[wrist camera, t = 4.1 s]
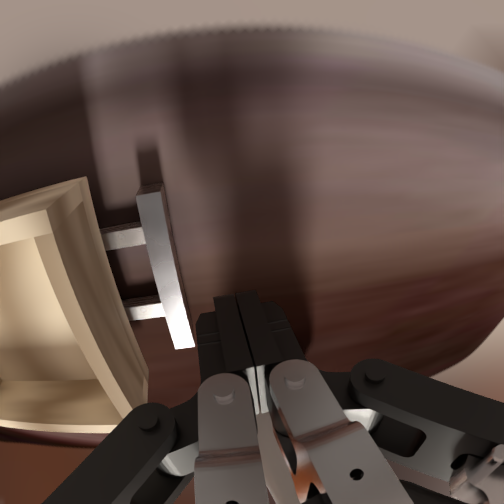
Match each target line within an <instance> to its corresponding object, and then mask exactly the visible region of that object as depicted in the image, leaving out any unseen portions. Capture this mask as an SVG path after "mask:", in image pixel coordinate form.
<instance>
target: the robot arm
mask: <svg viewBox="0 0 504 504" xmlns="http://www.w3.org/2000/svg"><path fill="white" fill-rule="evenodd" d="M213 299H214V305H215V311H214V312H208V313H202V314H200V316H199V318H198V320H197V322H196V334H197V344H198V355H199V365H200V374H201V385H200V388H199V390H198V392H197V393H196V394H195V395H194V396H193V397H192V398H191V399H190V400H188V401H187V402H185V403H183V404H180V405H178V406H175V407H173V408H171V409H169V408H168V407H166V406H164V405H162V404H159V403H145V404H142V405H139V406H137V407H135V408H134V409H133V410H132V411H130V412H129V413H128V415H127V416H126V417H125V418H124V419H123V420H122V421H121V422H120V423H119V424H118V425H117V426H116V427H115V428H114V429H113V430H112V432H111V433H110V434H109V435H108V436H107V437H106V438H105V439H104V440H103V441H102V442H101V443H100V444H99V445H98V446H97V447H96V448H95V449H94V450H93V451H92V453H91V454H90V455H89V456H88V457H87V458H86V459H85V460H84V461H83V462H82V463H81V464H80V465H79V466H78V467H77V468H76V469H75V470H74V471H73V472H72V473H71V474H70V475H69V476H68V477H67V478H66V480H64V481H63V483H62V484H61V485H60V486H59V487H58V488H57V489H56V490H55V491H54V492H53V493H52V494H51V495H50V496H49V497H48V498H47V499H46V500H45V501H44V502H43V503H42V504H173V503H174V502H175V500H176V499H177V498H178V496H179V495H180V494H181V492H182V491H183V490H184V489H185V487H186V486H187V485H188V483H189V482H190V481H191V479H192V478H193V477H194V480H195V503H196V504H269V499H268V493H267V488H266V482H265V476H264V471H263V465H262V459H261V454H260V449H259V443H258V437H257V434H258V427H257V420H256V415H257V414H259V406H260V410H261V413H266V412H269V414H270V417H271V420H272V428H273V433H274V436H275V438H276V441H277V443H278V446H279V448H280V450H281V453H282V455H283V458H284V460H285V462H286V465H287V467H288V469H289V472H290V474H291V476H292V479H293V482H294V486H295V490H296V494H297V496H298V499H299V501H300V504H504V403H502V402H499V401H496V400H493V399H490V398H487V397H484V396H481V395H478V394H474V393H472V392H469V391H466V390H463V389H460V388H457V387H454V386H451V385H448V384H446V383H443V382H440V381H437V380H434V379H432V378H429V377H426V376H423V375H421V374H418V373H415V372H413V371H410V370H407V369H405V368H402V367H399V366H397V365H394V364H391V363H389V362H386V361H383V360H380V359H366V360H363V361H361V362H359V363H357V364H356V365H355V366H354V367H353V369H352V370H351V372H325V371H321V370H319V369H317V368H316V367H315V366H314V365H313V364H311V363H309V362H308V361H307V360H306V358H305V356H304V354H303V352H302V349H301V347H300V345H299V343H298V341H297V339H296V337H295V334H294V332H293V330H292V329H291V326H290V324H289V322H288V320H287V317H286V315H285V313H284V311H283V309H282V308H281V307H280V306H278V305H277V304H276V303H274V302H273V301H270V302H265V303H260V300H259V298H258V295H257V292H256V290H252V291H246V292H240V293H235V297H234V294H229V295H223V296H217V297H213ZM235 300H236V301H235ZM258 403H259V406H258ZM385 458H386V459H388V460H390V461H393V462H396V463H398V464H400V465H403V466H405V467H408V468H411V469H413V470H416V471H419V472H421V473H424V474H427V475H430V476H432V477H435V478H438V479H441V480H444V481H447V482H449V486H450V495H451V496H452V497H453V498H451V497H448V496H445V495H442V494H440V493H437V492H434V491H432V490H429V489H427V488H424V487H422V486H419V485H417V484H414V483H412V482H408V481H404V480H399V479H398V478H397V477H396V475H395V473H394V472H393V470H392V469H391V467H390V466H389V464H388V462H387V461H386V459H385ZM454 498H457V499H459V500H461V501H459V500H456V499H454ZM462 501H463V502H462Z"/></svg>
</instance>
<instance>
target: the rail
mask: <svg viewBox="0 0 504 504" xmlns="http://www.w3.org/2000/svg"><path fill="white" fill-rule="evenodd" d="M136 201H137V206H138V210H139V215H140V220H141V221H139V222H133V223H128V224H122V225H117V226H112V227H106V228H101V229H99V230H100V234H101V238H102V241H103V245H104V248H105V251H107V250H113V249H119V248H124V247H130V246H136V245H142V244H146V246H147V250H148V254H149V258H150V262H151V266H152V270H153V274H154V278H155V282H156V285H157V289H158V293H159V295H153V296H146V297H140V298H133V299H126V300H121V301H122V304H123V307H124V310H125V312H126V315H127V318H128V320H129V321H133V320H141V319H148V318H155V317H162V316H165V317H166V320H167V324H168V327H169V330H170V333H171V337H172V340H173V343H174V346H175V349H181V348H188V347H194V346H195V345H194V332H193V324H192V320H191V316H190V312H189V308H188V304H187V299H186V295H185V291H184V286H183V282H182V277H181V273H180V268H179V263H178V259H177V254H176V249H175V244H174V239H173V234H172V229H171V223H170V218H169V212H168V207H167V201H166V196H165V190H164V184H163V182H160V183H155V184H149V185H144V186H141V187H140V189H139V191H138V193H137V194H136Z"/></svg>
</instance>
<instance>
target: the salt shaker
mask: <svg viewBox="0 0 504 504" xmlns="http://www.w3.org/2000/svg"><path fill="white" fill-rule="evenodd" d="M258 406H259V403H258ZM256 420H257V427H258V434H257V437H258V443H259V449H260V454H261V459H262V465H263V471H264V476H265V482H266V485H267V487H268V489H269V491H270V493H271V495H272V497H273V498H274V500H275V502H276V504H300V501H299V499H298V496H297V494H296V490H295V486H294V482H293V479H292V476H291V474H290V472H289V469H288V467H287V465H286V462H285V460H284V458H283V455H282V453H281V450H280V448H279V446H278V443H277V441H276V438H275V436H274V433H273V428H272V420H271V417H270V414H269V412H266V413H261V410H260V406H259V414H257V415H256Z"/></svg>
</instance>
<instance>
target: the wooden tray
mask: <svg viewBox="0 0 504 504" xmlns="http://www.w3.org/2000/svg"><path fill="white" fill-rule="evenodd" d="M148 374H149V370H148V367H147V365H146V363H145V360H144V358H143V356H142V353H141V351H140V348H139V346H138V343H137V341H136V338H135V336H134V333H133V331H132V328H131V326H130V323H129V320H128V318H127V315H126V312H125V310H124V307H123V304H122V301H121V298H120V295H119V292H118V290H117V287H116V284H115V281H114V277H113V274H112V271H111V268H110V265H109V262H108V258H107V255H106V252H105V248H104V245H103V241H102V238H101V234H100V230H99V226H98V223H97V219H96V215H95V211H94V207H93V203H92V198H91V194H90V189H89V185H88V180H87V176H85V177H81V178H77V179H73V180H69V181H65V182H62V183H58V184H54V185H51V186H47V187H43V188H40V189H36V190H33V191H30V192H26V193H23V194H20V195H17V196H13V197H10V198H7V199H4V200H1V201H0V426H4V427H11V428H19V429H28V430H39V431H52V432H71V433H111V432H112V430H113V429H114V428H115V427H116V426H117V425H118V424H119V423H120V422H121V421H122V420H123V419H124V418H125V417H126V416H127V415H128V413H129V412H130V411H132V410H133V409H134V408H135V407H137V406H139V405H142V404H145V403H147V394H148Z"/></svg>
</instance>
